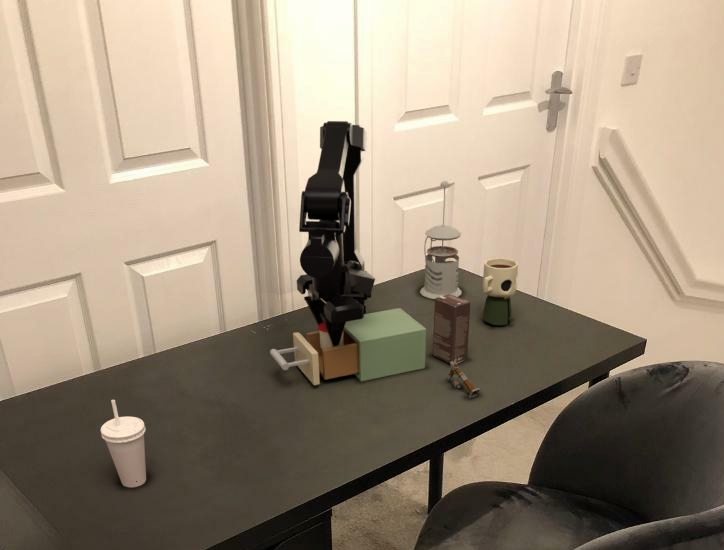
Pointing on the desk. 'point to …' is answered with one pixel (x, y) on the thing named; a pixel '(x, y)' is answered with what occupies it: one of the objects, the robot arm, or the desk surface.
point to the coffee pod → (327, 338)
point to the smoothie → (126, 447)
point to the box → (451, 328)
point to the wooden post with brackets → (462, 378)
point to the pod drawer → (321, 357)
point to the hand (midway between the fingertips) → (331, 340)
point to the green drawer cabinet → (388, 343)
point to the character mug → (499, 289)
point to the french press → (441, 261)
